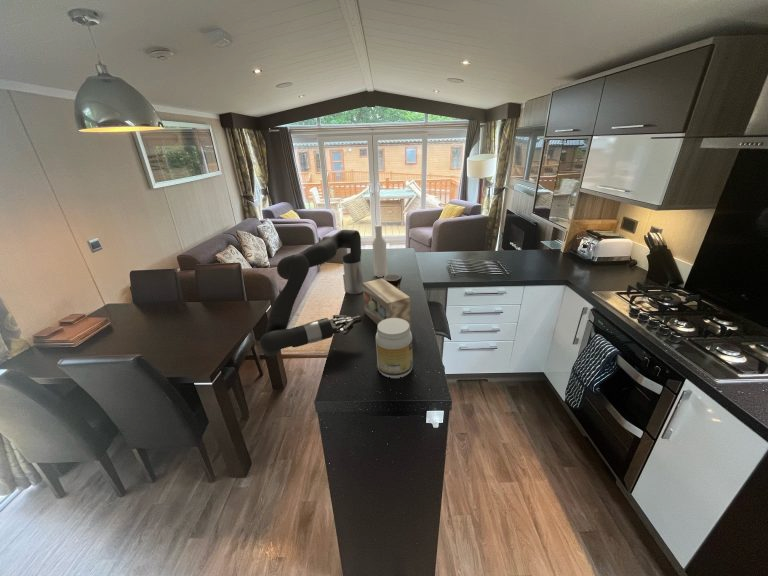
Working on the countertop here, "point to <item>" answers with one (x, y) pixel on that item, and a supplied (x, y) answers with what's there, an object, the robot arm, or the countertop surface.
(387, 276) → the coffee mug
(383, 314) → the button slate
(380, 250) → the bottle
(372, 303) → the button sage
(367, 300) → the button terracotta
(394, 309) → the box
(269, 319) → the robot arm
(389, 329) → the supplement tub
